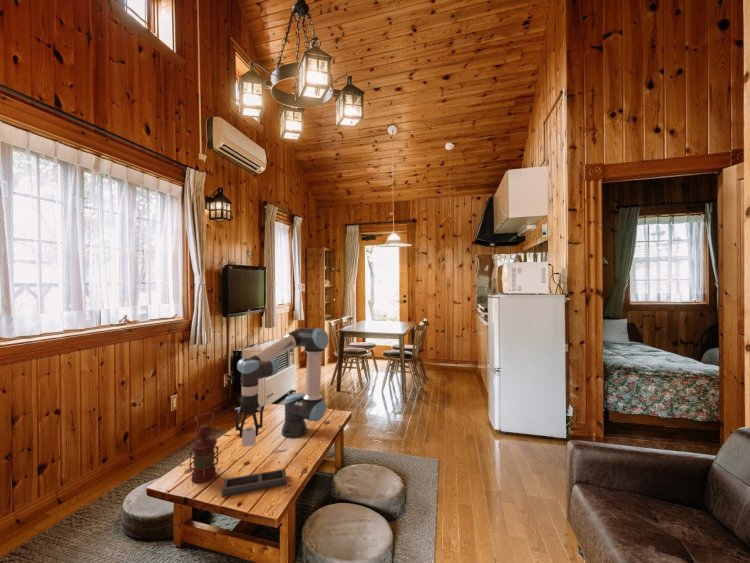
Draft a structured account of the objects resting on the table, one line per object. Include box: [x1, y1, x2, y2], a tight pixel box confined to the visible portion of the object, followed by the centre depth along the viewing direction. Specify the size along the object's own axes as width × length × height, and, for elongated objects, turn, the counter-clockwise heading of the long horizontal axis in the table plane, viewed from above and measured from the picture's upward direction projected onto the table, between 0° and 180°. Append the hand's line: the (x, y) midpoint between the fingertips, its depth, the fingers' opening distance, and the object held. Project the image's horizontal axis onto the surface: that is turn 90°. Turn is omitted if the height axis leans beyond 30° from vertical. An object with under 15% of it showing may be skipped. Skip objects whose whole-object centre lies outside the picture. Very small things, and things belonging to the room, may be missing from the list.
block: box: [243, 426, 255, 448], centre depth 157 cm, size 4×4×7 cm
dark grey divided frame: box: [221, 468, 287, 498], centre depth 149 cm, size 26×8×3 cm, turn 109°
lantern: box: [189, 412, 219, 484], centre depth 156 cm, size 12×12×30 cm
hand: (248, 443), depth 157 cm, fingers closed on block, 4 cm apart
